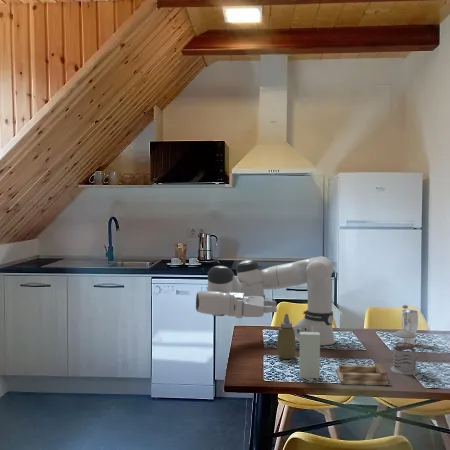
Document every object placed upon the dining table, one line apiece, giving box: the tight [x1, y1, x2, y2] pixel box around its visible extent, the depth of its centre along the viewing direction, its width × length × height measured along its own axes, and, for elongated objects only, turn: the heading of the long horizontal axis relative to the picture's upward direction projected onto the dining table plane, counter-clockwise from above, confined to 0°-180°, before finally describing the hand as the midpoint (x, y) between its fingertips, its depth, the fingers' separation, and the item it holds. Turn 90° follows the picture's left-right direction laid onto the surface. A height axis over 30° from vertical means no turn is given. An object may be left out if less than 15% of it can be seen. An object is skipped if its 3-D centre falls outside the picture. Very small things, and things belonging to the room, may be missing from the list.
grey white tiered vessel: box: [390, 304, 425, 376], centre depth 181 cm, size 10×12×25 cm
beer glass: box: [401, 309, 419, 346], centre depth 217 cm, size 7×7×15 cm
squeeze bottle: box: [276, 313, 297, 360], centre depth 197 cm, size 8×8×18 cm
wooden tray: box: [335, 363, 389, 386], centre depth 173 cm, size 16×13×4 cm
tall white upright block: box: [298, 332, 321, 379], centre depth 174 cm, size 7×4×16 cm, turn 85°
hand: (276, 306), depth 174 cm, fingers open, 8 cm apart
